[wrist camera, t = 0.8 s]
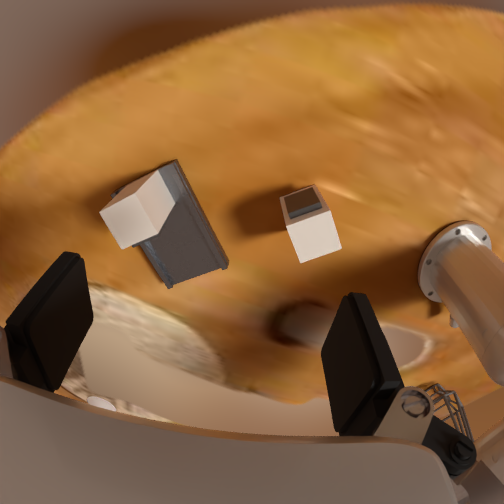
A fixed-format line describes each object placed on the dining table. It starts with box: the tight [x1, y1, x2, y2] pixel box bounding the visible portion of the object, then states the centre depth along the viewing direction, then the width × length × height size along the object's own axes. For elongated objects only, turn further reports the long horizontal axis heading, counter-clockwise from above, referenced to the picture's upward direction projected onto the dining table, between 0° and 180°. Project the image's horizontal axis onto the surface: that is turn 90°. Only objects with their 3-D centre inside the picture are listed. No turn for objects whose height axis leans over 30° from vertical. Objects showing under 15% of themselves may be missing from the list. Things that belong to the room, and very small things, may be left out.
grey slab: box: [111, 159, 229, 289], centre depth 34 cm, size 13×8×2 cm, turn 22°
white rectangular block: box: [279, 185, 342, 263], centre depth 30 cm, size 5×4×7 cm
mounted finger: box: [99, 170, 175, 249], centre depth 28 cm, size 5×4×7 cm
